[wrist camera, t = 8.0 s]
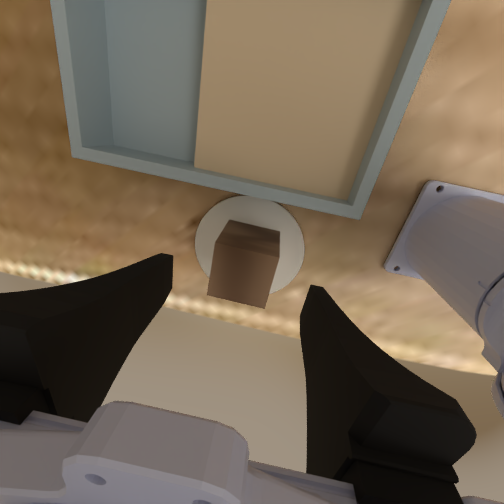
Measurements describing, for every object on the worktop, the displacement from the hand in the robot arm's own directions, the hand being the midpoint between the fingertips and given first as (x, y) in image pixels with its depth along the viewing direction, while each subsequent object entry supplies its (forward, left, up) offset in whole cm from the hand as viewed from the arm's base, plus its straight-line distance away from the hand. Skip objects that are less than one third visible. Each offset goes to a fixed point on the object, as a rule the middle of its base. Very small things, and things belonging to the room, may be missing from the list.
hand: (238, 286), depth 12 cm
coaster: (0, +3, -10) cm, 10 cm away
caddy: (+3, -9, -10) cm, 14 cm away
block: (0, +2, -9) cm, 10 cm away
